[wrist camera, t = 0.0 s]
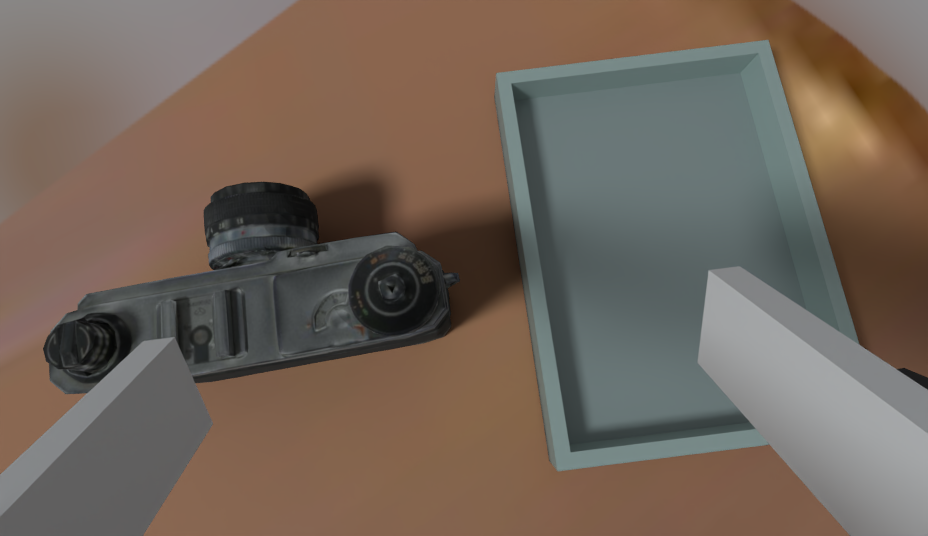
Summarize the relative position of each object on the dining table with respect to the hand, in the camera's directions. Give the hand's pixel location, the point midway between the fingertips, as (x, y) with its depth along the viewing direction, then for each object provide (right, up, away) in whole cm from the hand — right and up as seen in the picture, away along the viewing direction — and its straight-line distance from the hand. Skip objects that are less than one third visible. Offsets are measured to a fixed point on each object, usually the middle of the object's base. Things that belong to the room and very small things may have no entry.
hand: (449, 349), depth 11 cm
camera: (-9, +1, +16) cm, 19 cm away
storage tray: (+12, +3, +16) cm, 20 cm away
